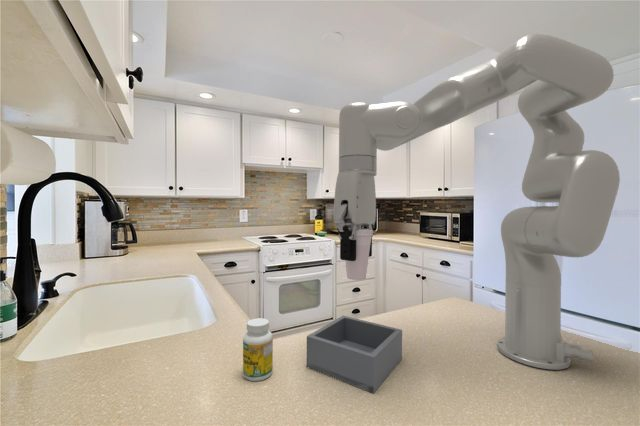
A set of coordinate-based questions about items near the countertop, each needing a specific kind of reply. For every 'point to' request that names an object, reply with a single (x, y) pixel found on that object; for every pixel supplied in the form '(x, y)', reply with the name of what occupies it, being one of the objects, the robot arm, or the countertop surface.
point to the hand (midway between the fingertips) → (356, 257)
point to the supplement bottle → (257, 350)
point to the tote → (355, 351)
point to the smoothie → (360, 255)
